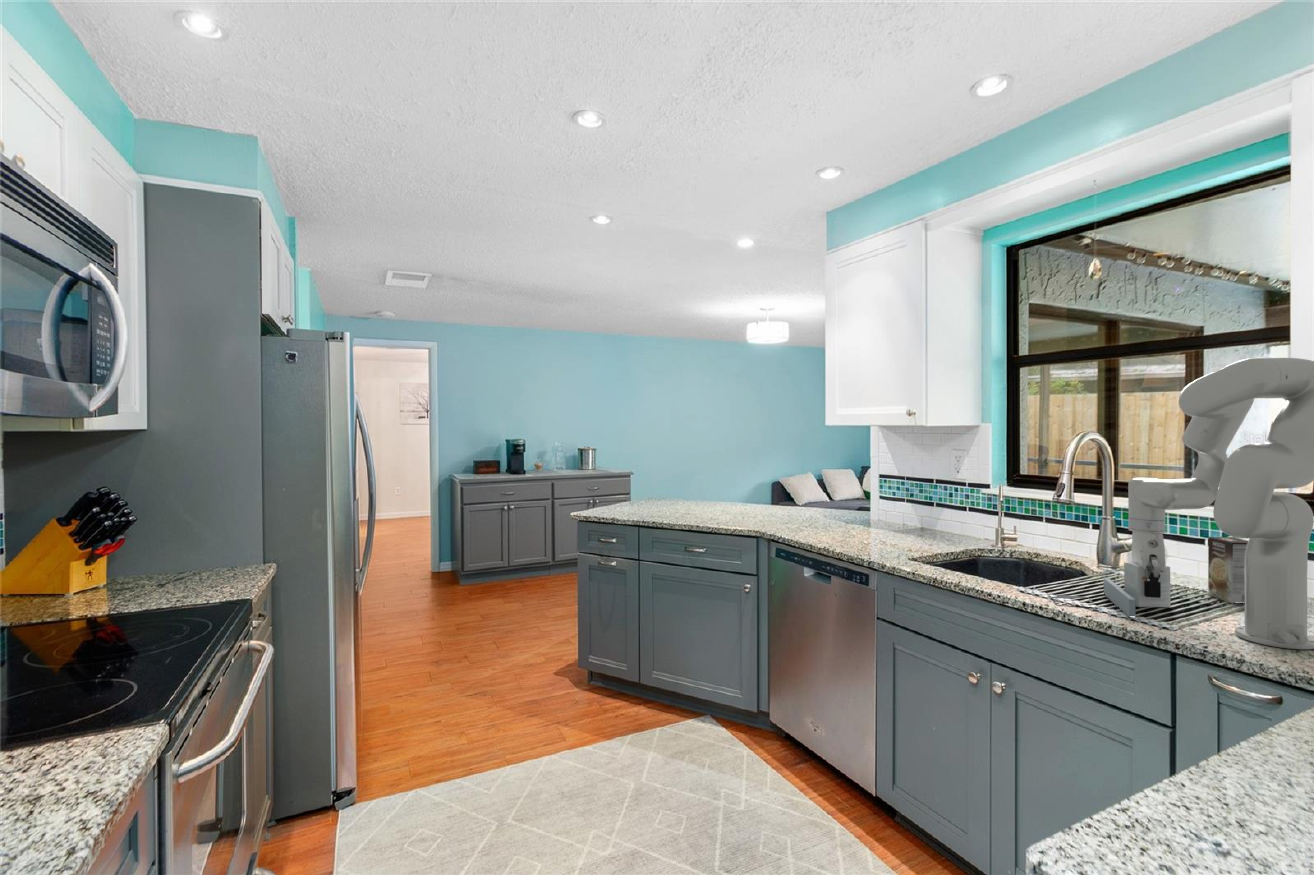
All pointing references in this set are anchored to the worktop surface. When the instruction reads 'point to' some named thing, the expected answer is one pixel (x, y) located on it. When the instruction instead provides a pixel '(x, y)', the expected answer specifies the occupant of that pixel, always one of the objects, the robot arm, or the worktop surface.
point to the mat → (1067, 597)
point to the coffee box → (1226, 568)
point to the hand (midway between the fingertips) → (1146, 592)
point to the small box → (1135, 586)
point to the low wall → (1119, 597)
